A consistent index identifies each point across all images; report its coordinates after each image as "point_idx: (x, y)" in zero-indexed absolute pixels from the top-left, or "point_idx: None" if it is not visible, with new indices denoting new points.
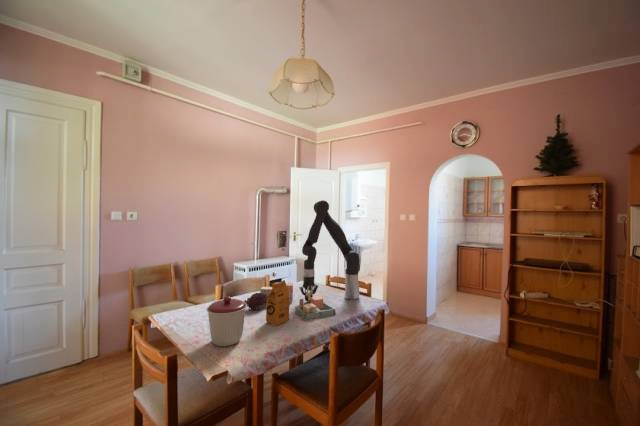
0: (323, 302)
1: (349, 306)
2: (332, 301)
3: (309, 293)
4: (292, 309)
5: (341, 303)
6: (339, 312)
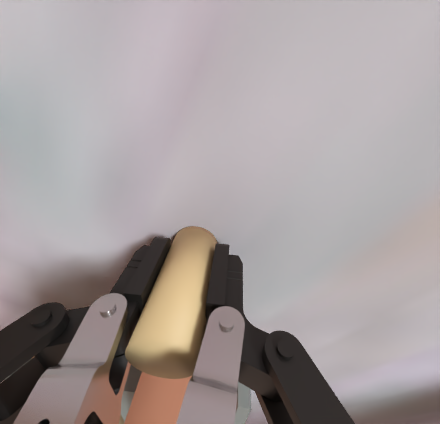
0: (239, 408)
1: (388, 414)
2: (407, 336)
3: (163, 377)
4: (7, 303)
5: (409, 381)
6: (264, 419)
